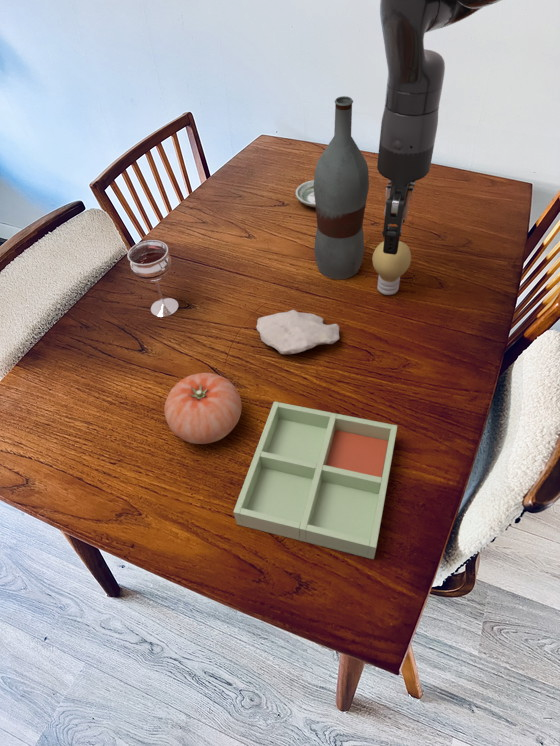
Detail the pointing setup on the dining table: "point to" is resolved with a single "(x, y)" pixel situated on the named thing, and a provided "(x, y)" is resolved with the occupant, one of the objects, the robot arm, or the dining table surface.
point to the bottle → (340, 199)
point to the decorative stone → (295, 331)
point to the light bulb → (390, 267)
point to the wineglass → (153, 271)
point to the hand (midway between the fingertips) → (393, 237)
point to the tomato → (203, 408)
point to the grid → (319, 479)
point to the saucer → (306, 193)
